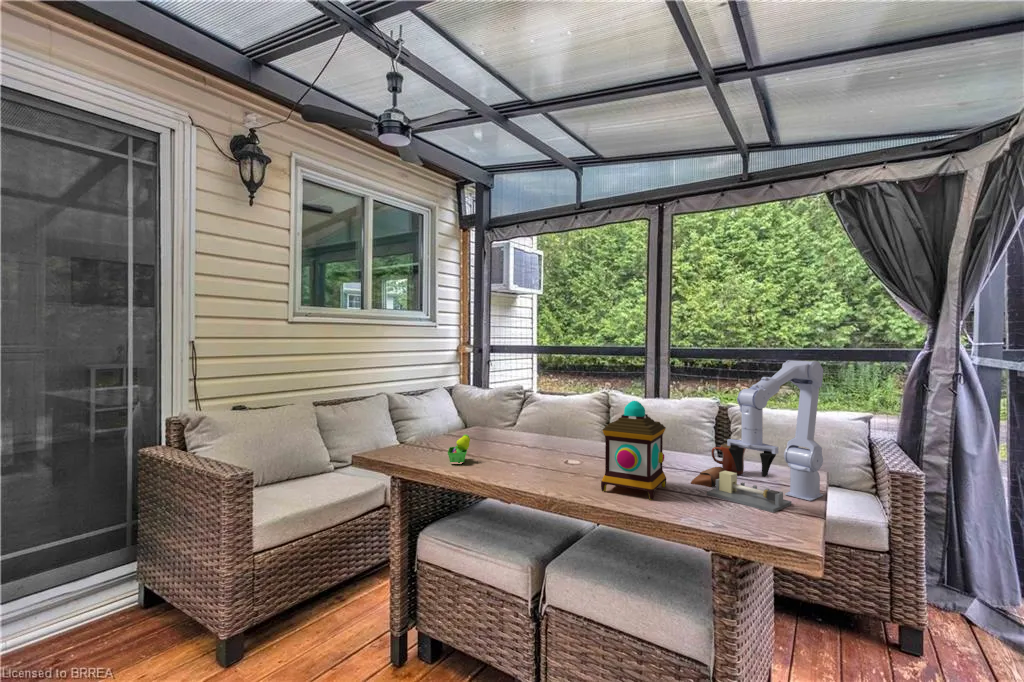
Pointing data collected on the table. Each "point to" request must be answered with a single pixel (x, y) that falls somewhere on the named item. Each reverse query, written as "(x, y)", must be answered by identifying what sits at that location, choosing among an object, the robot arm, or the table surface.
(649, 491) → the decorative lantern
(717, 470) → the sunglasses case
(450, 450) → the fruit basket
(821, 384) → the robot arm
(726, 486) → the cream block on rod
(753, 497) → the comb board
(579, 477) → the table surface
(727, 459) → the mug
